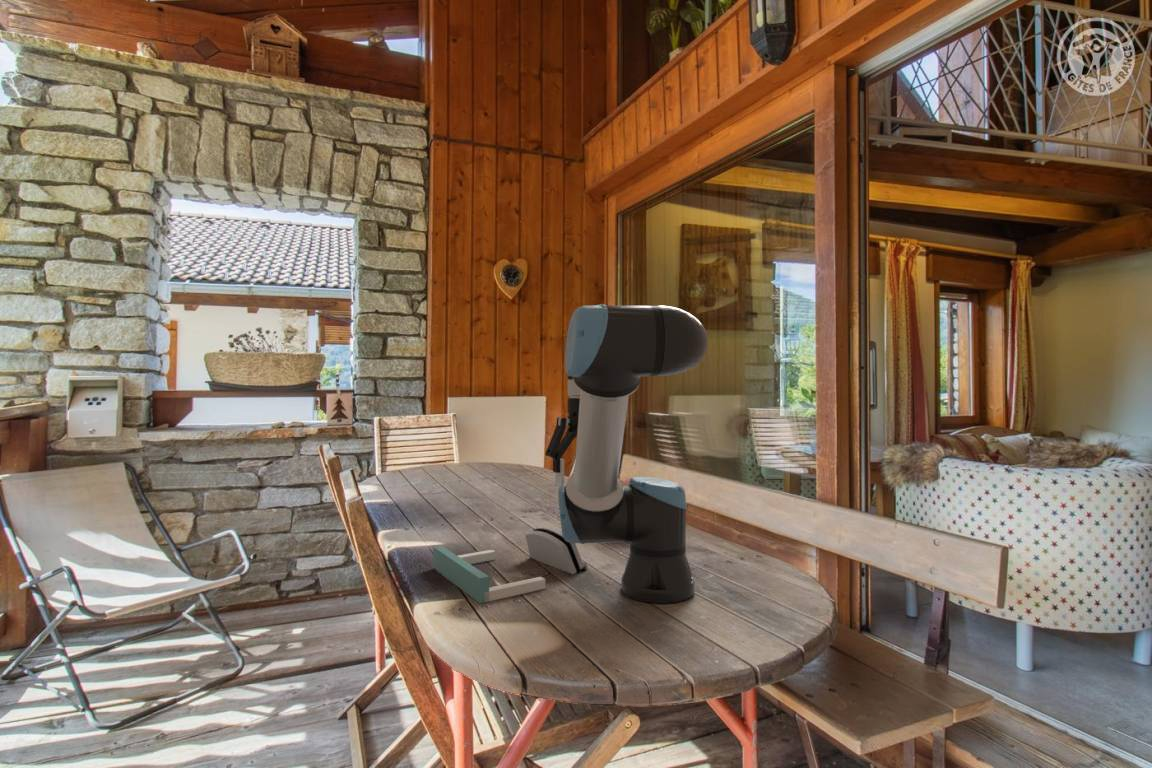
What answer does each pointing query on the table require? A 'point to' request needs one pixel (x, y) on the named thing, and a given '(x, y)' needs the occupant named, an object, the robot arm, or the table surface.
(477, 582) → the guide bay
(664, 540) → the robot arm
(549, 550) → the grey half-round casing
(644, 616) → the table surface
